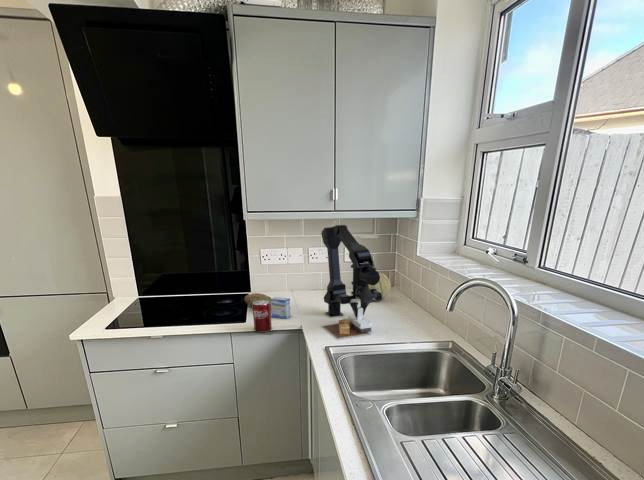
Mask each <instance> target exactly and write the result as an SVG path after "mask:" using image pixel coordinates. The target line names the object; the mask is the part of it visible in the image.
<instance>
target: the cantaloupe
mask: <svg viewBox="0 0 644 480" xmlns="http://www.w3.org/2000/svg"><path fill="white" fill-rule="evenodd" d="M377 272H378V273H379V275H380V280H379V282H378V283H377V284H376V285H370V284H368V285H369V286H368V287H369V289H377V291H379V292H381V293H382V300H384V299H386V298H387V297H388V295H389V294H390V293H391V292H390V291H391V289H392V287H391V286H392V285H391V281H390V279H389V278H388V276H387V275H385V274H384V272H379V271H377ZM372 301H376V302H377V301H378V300H375V299H374V298H373V300H372Z"/></svg>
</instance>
